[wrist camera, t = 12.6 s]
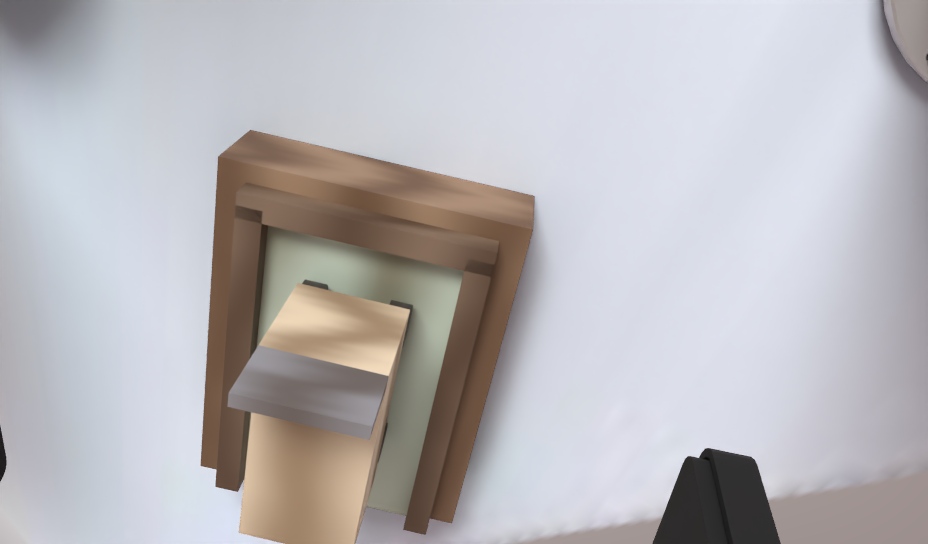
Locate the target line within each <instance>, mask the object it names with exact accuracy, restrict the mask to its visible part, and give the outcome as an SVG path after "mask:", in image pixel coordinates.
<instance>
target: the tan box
mask: <svg viewBox="0 0 928 544" xmlns="http://www.w3.org/2000/svg"><path fill="white" fill-rule="evenodd" d="M412 310H413V305H411V304H407V303H403V302H398V301H394V300H391V302H390V304H389V305H388V304H384V303H380V302H376V301H372V300H367V299H363V298H359V297H355V296H351V295H346V294H342V293H338V292H334V291H330V290H328V285H327V284H323V283H319V282H314V281H310V280H306V279H305V280H304V281H303V283H302V284H300V283H297V285H296V286H295V288H294V290H293V291H292V293H291V294H290V296H289V297H288V299H287V301H286V302H285V304H284V305H283V307H282V309H281V310H280V312H279V313H278V315H277V317H276V318H275V320H274V321H273V323H272V325H271V326H270V328H269V329H268V331H267V333H266V334H265V336H264V337H263V339H262V340H261V342H260V344H259V345H258V347H257V348H256V350H255V352H254V353H253V355H252V356H251V358H250V360H249V361H248V363H247V364H246V366H245V368H244V369H243V371H242V372H241V374H240V376H239V377H238V379H237V380H236V382H235V383H234V385H233V387H232V388H231V390H230V391H229V394H228V406H227V407H231V408H235V409H240V410H244V411H248V412H251V422H250V431H249V441H248V450H247V460H246V470H245V479H244V489H243V498H242V508H241V517H240V527H239V533H242V534H246V535H250V536H255V537H259V538H263V539H268V540H272V541H276V542H280V543H285V544H355V543H356V540H357V536H358V533H359V529H360V526H361V523H362V519H363V516H364V512H365V509H366V505H367V502H368V499H369V495H370V492H371V488H372V485H373V481H374V478H375V473H376V468H377V463H378V462H379V459H380V455H381V452H382V448H383V444H384V440H385V436H386V431H387V427H388V423H386V421H387V417H388V412H389V407H390V402H391V398H392V393H393V388H394V384H395V379H396V374H397V370H398V365H399V360H400V355H401V351H402V348H403V346H404V343H405V339H406V336H407V332H408V328H409V324H410V319H411V315H412Z"/></svg>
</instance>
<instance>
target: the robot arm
mask: <svg viewBox="0 0 928 544" xmlns="http://www.w3.org/2000/svg"><path fill="white" fill-rule="evenodd" d="M883 1H884V13H885V16H886V19H887V22H888V25H889V29H890V32H891V35H892V38H893V40H894V42H895V44H896V45H897V47H898V49H899V50H900V52H901V54H902V56H903V57H904V59H905V61H906V62H907V63H908V64H909V65H910V66H911V67H912V68H913V69H914V70H915V71H916V72H917V73H918V74H919V75H920V76H921V77H922V78H923V79H924V80H925V81H926V82H928V58H927V59H926V56H927V54H928V0H883ZM5 469H6V454H5V449H4V443H3V438H2V432H1V427H0V481H1V479H2V478H3V475H4V473H5ZM653 544H781V543H780V540H779V537H778V533H777V530H776V527H775V523H774V520H773V517H772V513H771V510H770V507H769V503H768V500H767V496H766V493H765V490H764V486H763V483H762V480H761V476H760V473H759V470H758V466H757V464H756V462H755V460H754V459H753V458H752V457H749V456H744V455H739V454H734V453H729V452H725V451H720V450H715V449H710V448H707V449H705V450H704V451H703V452H702V453H701V455H700V457H699V458H696V457H691V456H688V457H687V458H686V459H685V461H684V463H683V465H682V468H681V470H680V473H679V475H678V478H677V481H676V483H675V486H674V489H673V491H672V494H671V496H670V499H669V502H668V504H667V507H666V510H665V512H664V515H663V517H662V520H661V523H660V525H659V528H658V531H657V533H656V536H655V539H654V541H653Z"/></svg>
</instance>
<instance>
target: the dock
mask: <svg viewBox="0 0 928 544" xmlns="http://www.w3.org/2000/svg"><path fill="white" fill-rule="evenodd" d="M533 217H534V196H532V195H528V194H523V193H519V192H515V191H510V190H506V189H502V188H497V187H493V186H489V185H485V184H480V183H476V182H472V181H467V180H463V179H459V178H454V177H450V176H446V175H442V174H437V173H433V172H429V171H424V170H420V169H416V168H411V167H407V166H403V165H399V164H394V163H390V162H386V161H381V160H377V159H373V158H368V157H364V156H360V155H355V154H351V153H347V152H343V151H338V150H334V149H330V148H325V147H321V146H317V145H312V144H308V143H304V142H300V141H295V140H291V139H287V138H282V137H278V136H274V135H269V134H265V133H261V132H257V131H252V130H250V131H249V132H247V133H246V134H245V135H244V136H243V137H241V138H240V139H239V140H238V141H237V142H235V143H234V144H233V145H232V146H231V147H229V148H228V149H227V150H226V151H224V152H223V153H222V154H221V155H220V156H218V171H217V189H216V206H215V224H214V241H213V259H212V276H211V294H210V312H209V329H208V347H207V364H206V382H205V399H204V417H203V434H202V452H201V466H204V467H208V468H213V469H217V473H216V487H219V488H223V489H228V490H232V491H237V492H238V490H239V488H240V486H241V484H242V482H243V480H244V479H245V470H246V460H247V450H248V441H249V431H250V422H251V412H248V411H244V410H240V409H235V408H231V407H227V406H228V394H229V391H230V390H231V388H232V387H233V385H234V383H235V382H236V380H237V379H238V377H239V376H240V374H241V372H242V371H243V369H244V368H245V366H246V364H247V363H248V361H249V360H250V358H251V356H252V355H253V353H254V352H255V350H256V348H257V347H258V345H259V344H260V342H261V340H262V339H263V337H264V336H265V334H266V333H267V331H268V329H269V328H270V326H271V325H272V323H273V321H274V320H275V318H276V317H277V315H278V313H279V312H280V310H281V309H282V307H283V305H284V304H285V302H286V301H287V299H288V297H289V296H290V294H291V293H292V291H293V290H294V288H295V286H296V285H297V283H300V284H302V283H303V281H304V280H305V279H306V280H310V281H314V282H319V283H323V284H327V285H328V290H330V291H334V292H338V293H342V294H346V295H351V296H355V297H359V298H363V299H367V300H372V301H376V302H380V303H384V304H388V305H389V304H390V302H391V300H394V301H398V302H403V303H407V304H411V305H413V310H412V315H411V319H410V324H409V328H408V332H407V336H406V339H405V343H404V346H403V348H402V351H401V355H400V360H399V365H398V370H397V374H396V379H395V384H394V388H393V393H392V398H391V402H390V407H389V412H388V417H387V421H386V423H388V427H387V431H386V436H385V440H384V444H383V448H382V452H381V455H380V459H379V462H378V463H377V468H376V473H375V478H374V481H373V485H372V488H371V492H370V495H369V499H368V502H367V505H366V507H370V508H375V509H379V510H384V511H388V512H392V513H397V514H401V515H405V516H406V520H405V525H404V529H403V530H407V531H411V532H416V533H420V534H426V530H427V527H428V523H429V519H430V518H431V519H435V520H440V521H444V522H448V523H452V521H453V517H454V514H455V510H456V506H457V503H458V499H459V496H460V492H461V488H462V485H463V481H464V477H465V474H466V470H467V467H468V463H469V459H470V456H471V452H472V448H473V445H474V441H475V438H476V434H477V430H478V427H479V423H480V419H481V416H482V412H483V409H484V405H485V401H486V398H487V394H488V391H489V387H490V383H491V380H492V376H493V372H494V369H495V365H496V362H497V358H498V354H499V351H500V347H501V343H502V340H503V336H504V333H505V329H506V325H507V322H508V318H509V314H510V311H511V307H512V304H513V300H514V296H515V293H516V289H517V286H518V282H519V278H520V275H521V271H522V267H523V264H524V260H525V257H526V253H527V249H528V246H529V242H530V238H531V235H532V231H533Z"/></svg>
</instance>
